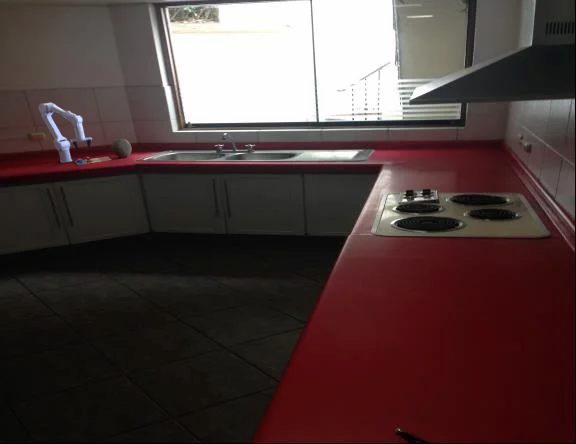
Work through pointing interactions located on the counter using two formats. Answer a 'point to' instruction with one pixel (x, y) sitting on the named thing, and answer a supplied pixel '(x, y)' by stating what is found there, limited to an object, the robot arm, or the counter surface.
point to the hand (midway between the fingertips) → (83, 150)
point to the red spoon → (89, 160)
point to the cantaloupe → (121, 148)
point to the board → (94, 160)
